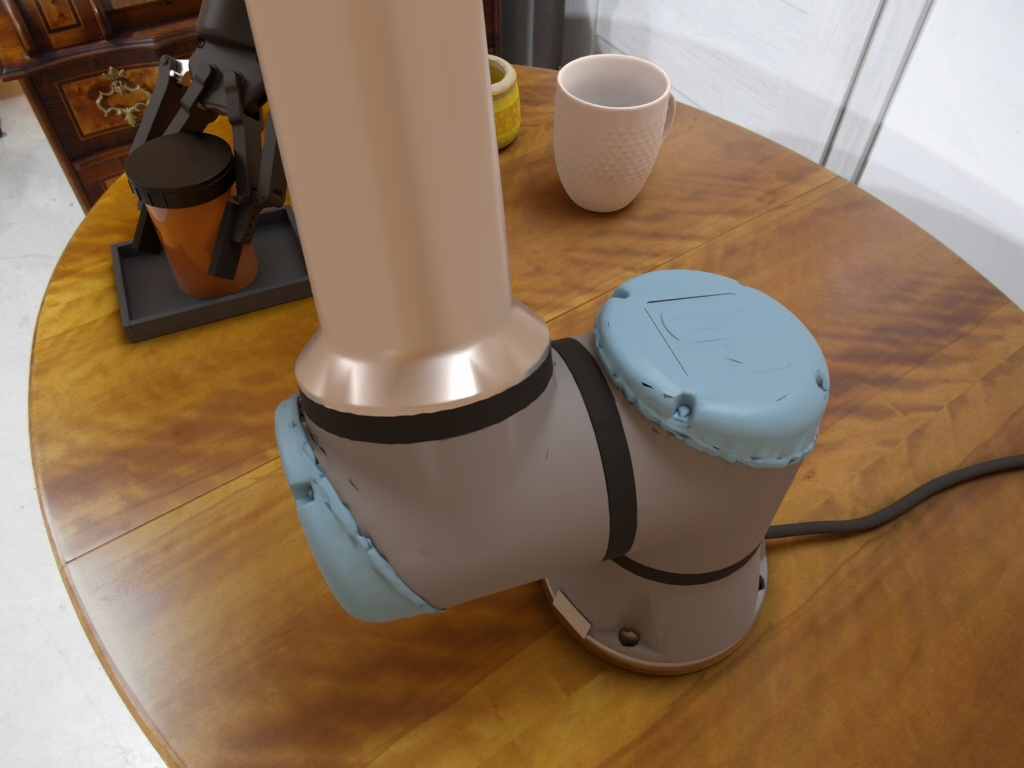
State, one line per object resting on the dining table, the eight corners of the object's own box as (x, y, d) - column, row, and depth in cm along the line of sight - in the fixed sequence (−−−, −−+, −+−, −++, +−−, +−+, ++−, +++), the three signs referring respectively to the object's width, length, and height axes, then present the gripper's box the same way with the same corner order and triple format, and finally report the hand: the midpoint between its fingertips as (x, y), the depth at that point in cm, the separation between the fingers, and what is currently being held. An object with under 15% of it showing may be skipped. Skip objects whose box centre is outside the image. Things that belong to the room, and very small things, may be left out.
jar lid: (228, 143, 70) (222, 123, 68) (247, 195, 64) (241, 174, 63) (127, 164, 67) (118, 143, 66) (138, 219, 62) (129, 198, 61)
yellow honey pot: (537, 148, 90) (542, 45, 81) (449, 170, 86) (444, 65, 77) (491, 97, 97) (491, -2, 88) (409, 116, 94) (400, 15, 85)
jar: (250, 239, 77) (219, 133, 68) (266, 286, 72) (235, 178, 64) (171, 258, 75) (128, 151, 66) (182, 307, 70) (138, 199, 61)
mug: (626, 144, 90) (642, 32, 81) (696, 188, 85) (723, 72, 75) (528, 189, 84) (532, 73, 74) (597, 239, 78) (612, 121, 69)
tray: (293, 219, 80) (289, 203, 78) (324, 292, 72) (320, 276, 71) (117, 261, 75) (109, 244, 74) (131, 343, 68) (122, 327, 66)
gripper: (374, 49, 67) (302, 301, 70) (185, 5, 73) (124, 240, 75) (330, 10, 60) (252, 292, 62) (125, -35, 66) (59, 226, 68)
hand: (182, 263), depth 69 cm, fingers closed on jar, 8 cm apart
